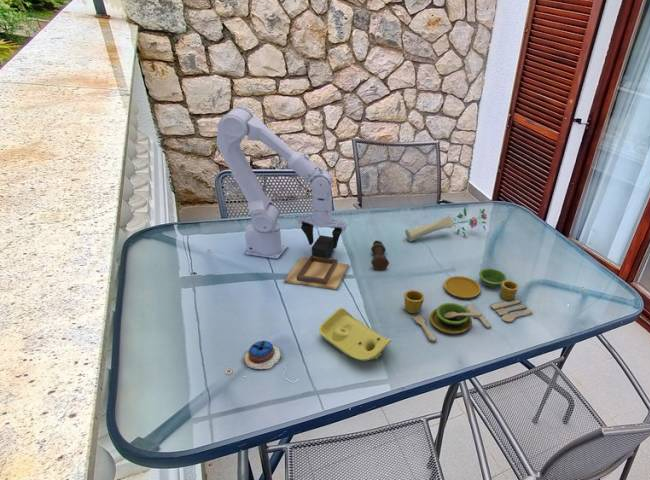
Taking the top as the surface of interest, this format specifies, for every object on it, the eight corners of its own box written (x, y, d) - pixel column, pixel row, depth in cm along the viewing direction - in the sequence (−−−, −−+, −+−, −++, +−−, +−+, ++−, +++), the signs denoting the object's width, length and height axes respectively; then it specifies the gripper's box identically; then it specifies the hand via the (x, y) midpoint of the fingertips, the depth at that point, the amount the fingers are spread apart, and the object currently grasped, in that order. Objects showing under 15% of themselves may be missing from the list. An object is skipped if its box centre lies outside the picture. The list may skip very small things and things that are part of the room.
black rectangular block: (312, 260, 139) (311, 247, 137) (320, 247, 147) (320, 235, 144) (326, 262, 140) (326, 249, 137) (333, 249, 147) (333, 237, 145)
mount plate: (284, 282, 127) (284, 275, 125) (301, 259, 138) (300, 253, 137) (336, 289, 129) (336, 283, 128) (348, 266, 141) (348, 260, 140)
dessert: (248, 343, 103) (262, 330, 101) (274, 355, 106) (287, 342, 105) (236, 368, 97) (250, 355, 95) (264, 380, 100) (278, 367, 98)
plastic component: (315, 329, 109) (344, 303, 114) (327, 344, 115) (354, 318, 120) (365, 366, 101) (394, 335, 106) (376, 379, 107) (403, 350, 111)
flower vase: (407, 252, 171) (477, 226, 189) (420, 259, 162) (493, 231, 179) (399, 225, 166) (473, 201, 183) (412, 230, 157) (488, 205, 174)
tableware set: (427, 345, 118) (430, 328, 114) (388, 291, 134) (389, 274, 131) (537, 315, 142) (542, 300, 139) (492, 272, 159) (496, 258, 156)
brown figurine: (379, 252, 156) (382, 273, 144) (367, 246, 153) (368, 266, 141) (388, 240, 154) (391, 261, 143) (376, 234, 151) (378, 254, 140)
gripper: (349, 207, 139) (348, 243, 146) (302, 199, 136) (304, 236, 143) (343, 216, 133) (343, 253, 140) (294, 208, 130) (297, 246, 138)
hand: (323, 245), depth 141 cm, fingers open, 7 cm apart
